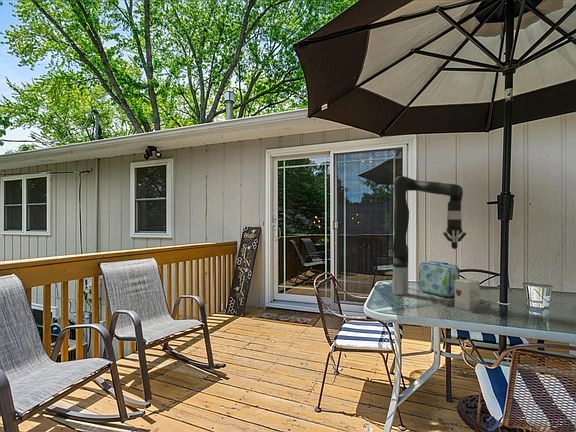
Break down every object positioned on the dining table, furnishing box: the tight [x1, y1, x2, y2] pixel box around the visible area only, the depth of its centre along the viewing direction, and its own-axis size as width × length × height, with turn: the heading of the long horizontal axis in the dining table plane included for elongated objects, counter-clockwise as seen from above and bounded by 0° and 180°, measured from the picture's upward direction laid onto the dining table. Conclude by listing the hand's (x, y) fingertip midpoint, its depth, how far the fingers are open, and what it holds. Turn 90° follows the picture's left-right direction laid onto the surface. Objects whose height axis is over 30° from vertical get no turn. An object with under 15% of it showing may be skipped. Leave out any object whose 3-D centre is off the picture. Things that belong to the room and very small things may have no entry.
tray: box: [444, 298, 492, 314], centre depth 188 cm, size 16×16×3 cm
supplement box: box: [454, 278, 480, 312], centre depth 187 cm, size 9×9×15 cm
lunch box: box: [418, 260, 461, 298], centre depth 220 cm, size 26×11×21 cm, turn 25°
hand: (454, 248), depth 200 cm, fingers closed
